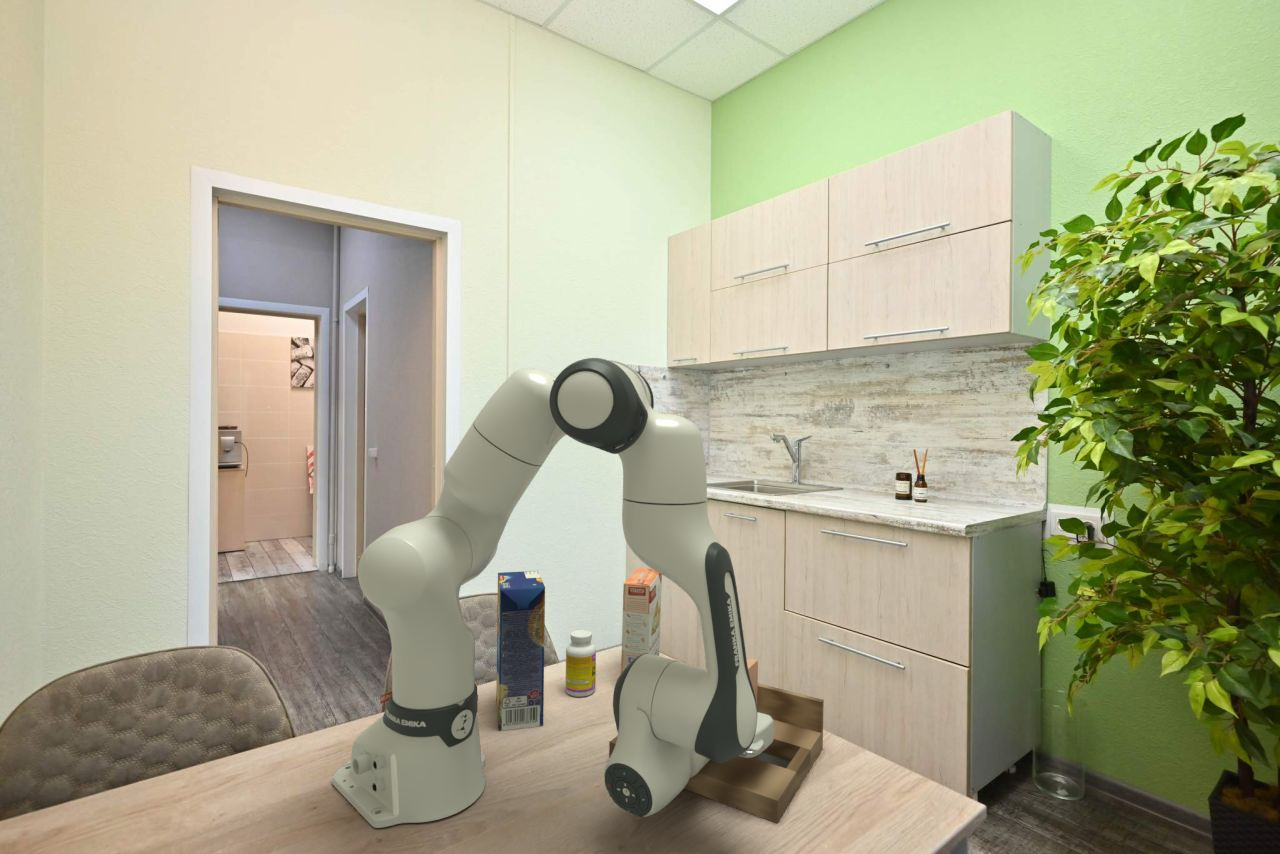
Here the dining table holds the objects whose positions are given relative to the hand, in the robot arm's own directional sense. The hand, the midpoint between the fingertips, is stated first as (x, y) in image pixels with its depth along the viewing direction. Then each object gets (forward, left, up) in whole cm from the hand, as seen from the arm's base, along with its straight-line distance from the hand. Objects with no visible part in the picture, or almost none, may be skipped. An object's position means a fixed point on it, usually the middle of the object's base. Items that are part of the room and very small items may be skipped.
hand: (725, 698), depth 100 cm
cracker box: (-26, +17, -8) cm, 32 cm away
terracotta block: (0, +3, -5) cm, 6 cm away
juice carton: (-36, -9, -8) cm, 38 cm away
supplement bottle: (-32, +4, -8) cm, 33 cm away
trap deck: (0, -2, -8) cm, 8 cm away
